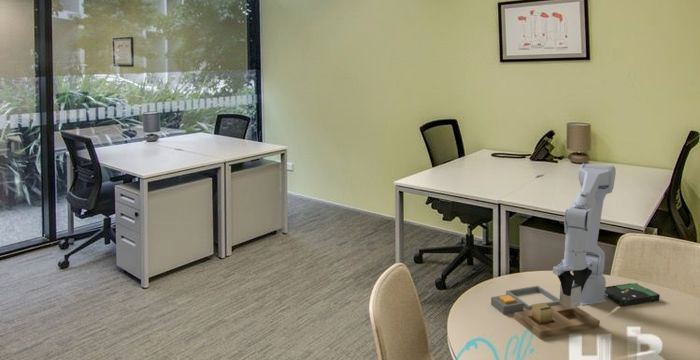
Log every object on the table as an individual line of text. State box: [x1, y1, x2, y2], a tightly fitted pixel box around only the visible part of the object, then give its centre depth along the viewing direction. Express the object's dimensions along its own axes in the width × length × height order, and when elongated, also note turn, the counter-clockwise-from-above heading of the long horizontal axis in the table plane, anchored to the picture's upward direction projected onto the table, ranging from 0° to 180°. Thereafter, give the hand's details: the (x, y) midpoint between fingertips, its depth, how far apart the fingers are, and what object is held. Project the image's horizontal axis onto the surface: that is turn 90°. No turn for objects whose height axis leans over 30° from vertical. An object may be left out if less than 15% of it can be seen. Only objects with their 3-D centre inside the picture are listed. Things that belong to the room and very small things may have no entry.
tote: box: [505, 285, 562, 311], centre depth 164 cm, size 12×12×2 cm
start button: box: [499, 294, 516, 304], centre depth 159 cm, size 4×4×3 cm
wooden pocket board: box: [513, 305, 601, 340], centre depth 149 cm, size 20×12×2 cm, turn 106°
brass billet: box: [531, 302, 553, 325], centre depth 147 cm, size 4×4×6 cm
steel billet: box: [559, 283, 581, 308], centre depth 149 cm, size 4×4×6 cm
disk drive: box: [604, 282, 661, 308], centre depth 165 cm, size 10×3×15 cm
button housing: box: [490, 294, 524, 315], centre depth 159 cm, size 7×7×3 cm
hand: (572, 293), depth 148 cm, fingers closed on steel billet, 4 cm apart
